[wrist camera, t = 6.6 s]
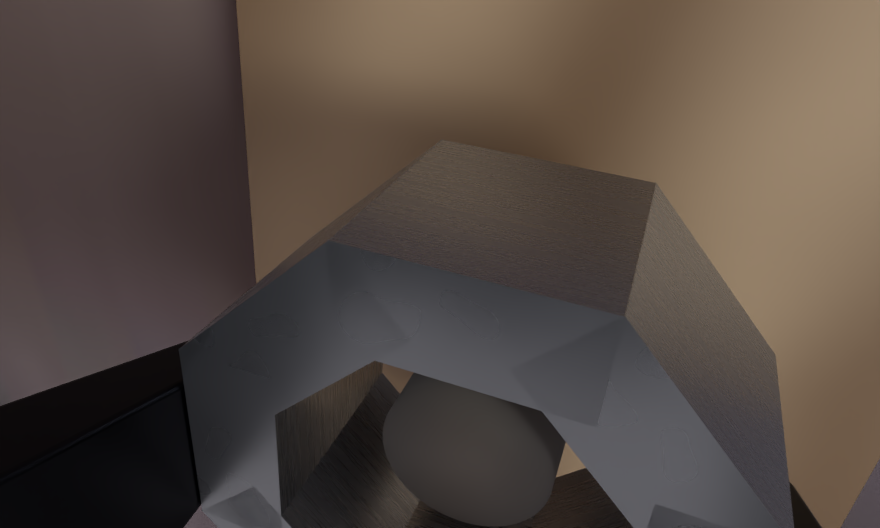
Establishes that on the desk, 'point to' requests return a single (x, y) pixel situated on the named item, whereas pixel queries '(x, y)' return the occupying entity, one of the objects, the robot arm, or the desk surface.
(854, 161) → the post block
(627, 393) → the ring
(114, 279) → the desk surface
